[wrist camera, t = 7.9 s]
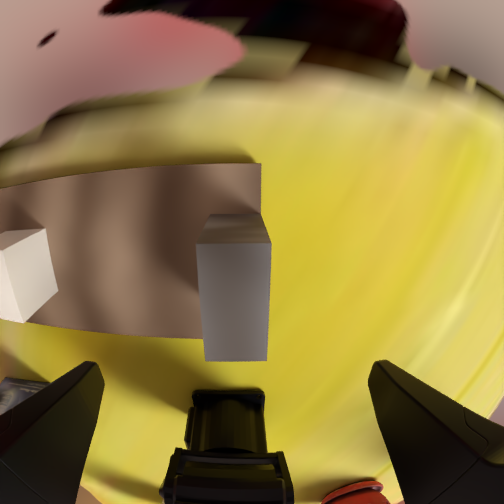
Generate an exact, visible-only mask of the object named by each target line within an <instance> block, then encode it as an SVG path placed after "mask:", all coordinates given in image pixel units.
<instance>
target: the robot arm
mask: <svg viewBox="0 0 504 504" xmlns="http://www.w3.org/2000/svg"><path fill="white" fill-rule="evenodd" d="M104 385H105V383H104V379H103V376H102V374H101V371H100V369H99V366H98V364H97V363H95V362H91V361H85V362H83V363H81V364H80V365H78V366H77V367H75V368H74V369H72V370H70V371H69V372H67V373H66V374H64V375H63V376H61V377H60V378H58V379H56V380H55V381H53V382H52V383H50V384H49V385H47V386H45V387H44V388H42V389H41V390H39V391H38V392H36V393H34V394H33V395H31V396H30V397H28V398H27V399H25V400H23V401H22V402H20V403H19V404H17V405H16V406H14V407H13V408H11V409H9V410H8V411H6V412H4V413H3V414H1V415H0V504H75V502H76V498H77V493H78V489H79V485H80V481H81V477H82V473H83V469H84V465H85V461H86V458H87V454H88V451H89V447H90V444H91V440H92V437H93V434H94V430H95V427H96V424H97V419H98V415H99V409H100V405H101V400H102V395H103V391H104ZM368 387H369V390H370V394H371V398H372V402H373V406H374V410H375V415H376V418H377V422H378V425H379V428H380V431H381V433H382V436H383V439H384V442H385V444H386V447H387V450H388V453H389V456H390V459H391V462H392V465H393V468H394V471H395V474H396V477H397V480H398V483H399V486H400V489H401V492H402V495H403V498H404V502H405V504H504V427H503V426H501V425H499V424H497V423H494V422H492V421H490V420H488V419H486V418H484V417H482V416H480V415H478V414H477V413H475V412H473V411H471V410H469V409H468V408H466V407H463V406H462V405H461V404H459V403H457V402H456V401H454V400H452V399H451V398H449V397H447V396H446V395H444V394H442V393H441V392H439V391H437V390H436V389H434V388H432V387H431V386H429V385H427V384H426V383H424V382H422V381H421V380H419V379H417V378H416V377H414V376H412V375H411V374H409V373H407V372H406V371H404V370H403V369H401V368H399V367H398V366H396V365H394V364H393V363H391V362H390V361H388V360H379V361H375V362H374V364H373V366H372V369H371V372H370V375H369V378H368ZM198 395H199V396H198ZM258 395H260V396H258ZM192 399H193V404H194V407H190V408H189V411H188V417H187V424H186V431H185V437H184V441H185V444H186V447H187V450H186V449H182V448H177V447H176V448H175V452H174V455H173V454H172V456H171V457H170V463H169V467H168V470H167V474H166V477H165V479H164V481H163V483H162V485H161V487H160V489H159V495H160V496H161V497H162V498H163V499H164V503H165V504H294V490H293V485H292V481H291V477H290V474H289V470H288V467H287V463H286V460H285V456H284V453H283V451H277V452H276V453H268V451H267V442H266V432H265V422H264V403H265V394H264V392H263V391H259V390H258V391H206V390H195V391H193V393H192Z"/></svg>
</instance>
